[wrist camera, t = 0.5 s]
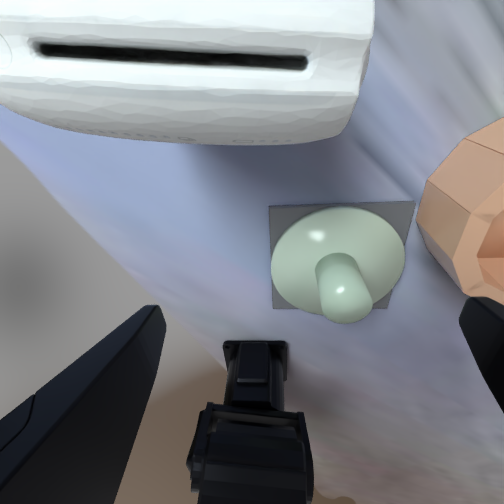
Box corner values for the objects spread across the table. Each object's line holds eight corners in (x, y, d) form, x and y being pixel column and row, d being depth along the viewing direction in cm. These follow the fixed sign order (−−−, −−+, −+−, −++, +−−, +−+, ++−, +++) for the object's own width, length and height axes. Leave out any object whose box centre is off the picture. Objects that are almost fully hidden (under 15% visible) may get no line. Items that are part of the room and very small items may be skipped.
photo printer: (142, 96, 17) (-53, 153, 7) (128, 2, 15) (-209, -131, 4) (314, 106, 17) (378, 180, 7) (328, 12, 14) (467, -105, 4)
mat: (385, 305, 25) (386, 308, 25) (272, 305, 26) (272, 308, 26) (413, 200, 20) (416, 203, 19) (269, 206, 20) (268, 208, 20)
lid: (386, 308, 25) (408, 355, 21) (272, 308, 26) (272, 353, 22) (415, 203, 19) (452, 240, 15) (269, 208, 20) (268, 244, 16)
